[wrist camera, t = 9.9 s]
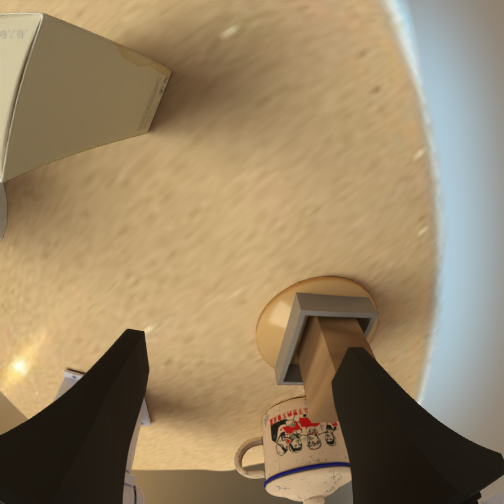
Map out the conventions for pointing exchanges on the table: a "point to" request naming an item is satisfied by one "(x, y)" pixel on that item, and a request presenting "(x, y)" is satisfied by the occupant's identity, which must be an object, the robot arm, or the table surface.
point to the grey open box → (295, 316)
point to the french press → (3, 211)
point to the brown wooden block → (325, 360)
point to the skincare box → (68, 91)
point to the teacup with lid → (299, 454)
